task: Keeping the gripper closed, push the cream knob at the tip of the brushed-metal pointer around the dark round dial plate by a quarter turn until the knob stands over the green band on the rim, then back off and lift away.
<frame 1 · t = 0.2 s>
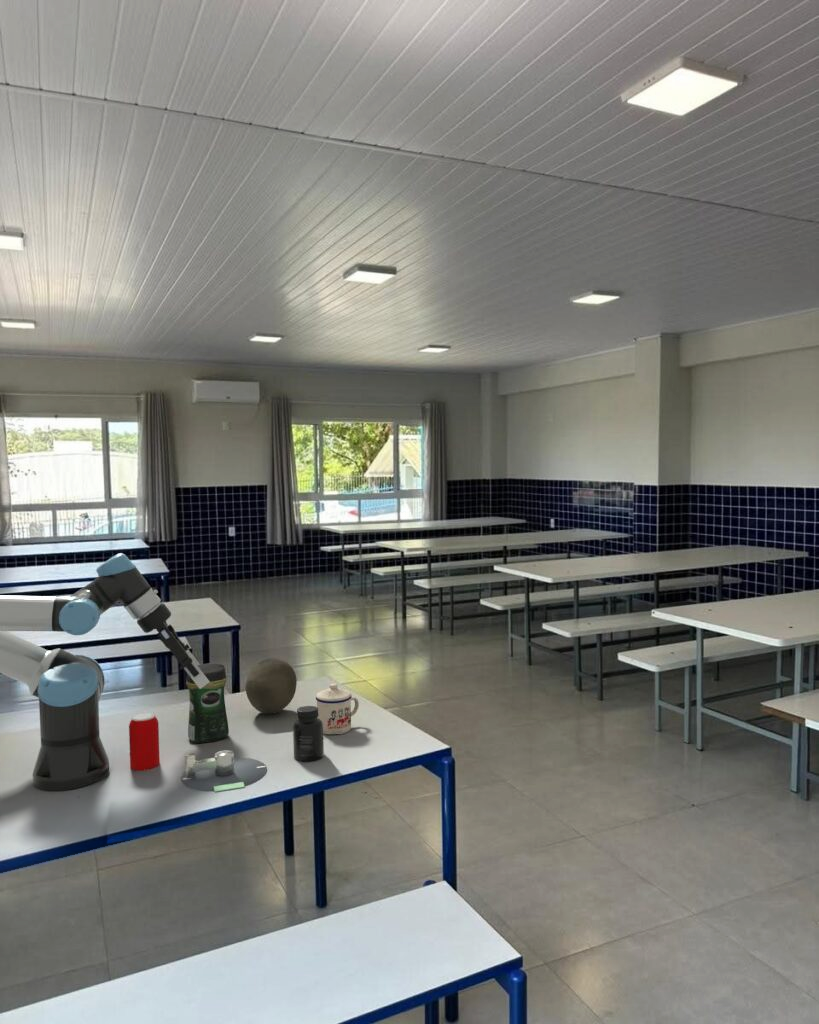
hand: (201, 678, 181), 15 cm above the table, tool tilted 35°, fingers open, 13 cm apart
beverage can: (145, 770, 164), on the table
dial plate: (224, 777, 159), on the table
teacup with lid: (339, 728, 189), on the table
supplement bottle: (308, 761, 168), on the table
pointer: (210, 763, 158), point 4 cm above the table, hinge at 0.0°
coffee jar: (208, 738, 183), on the table
cantaloupe: (271, 714, 201), on the table
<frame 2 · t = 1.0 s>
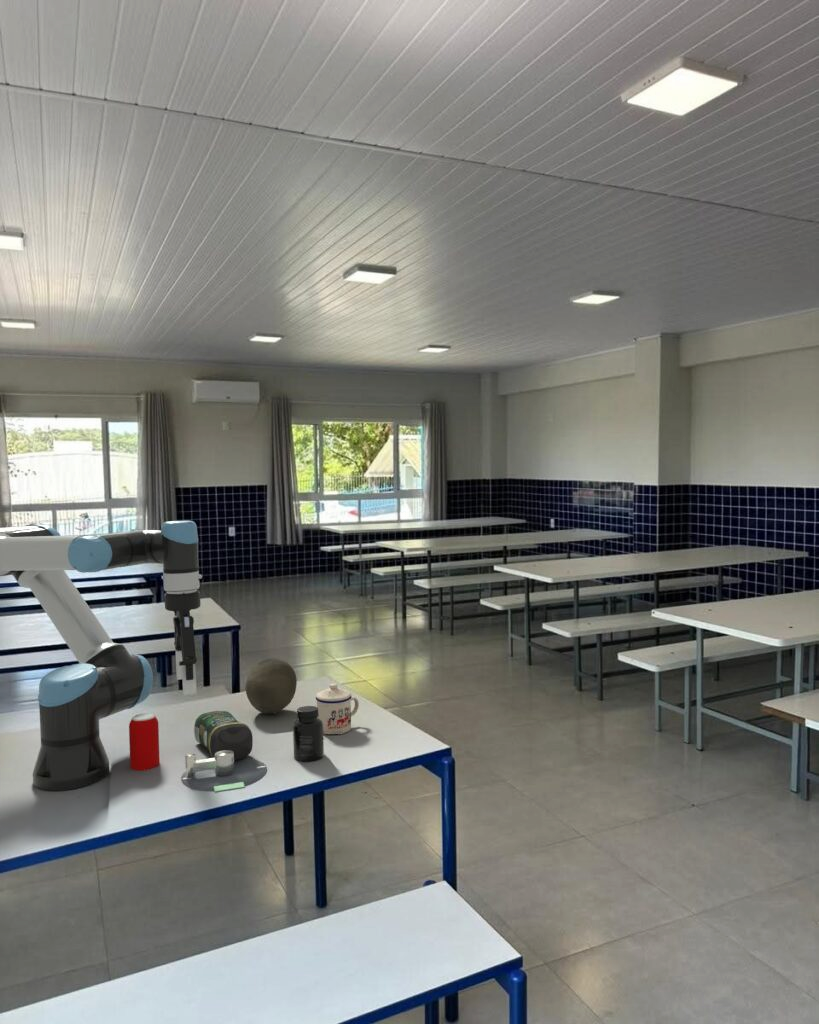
hand: (186, 686, 163), 19 cm above the table, tool pointing down, fingers open, 13 cm apart
coffee jar: (212, 725, 180), point 4 cm above the table, touching dial plate
everything else where it was.
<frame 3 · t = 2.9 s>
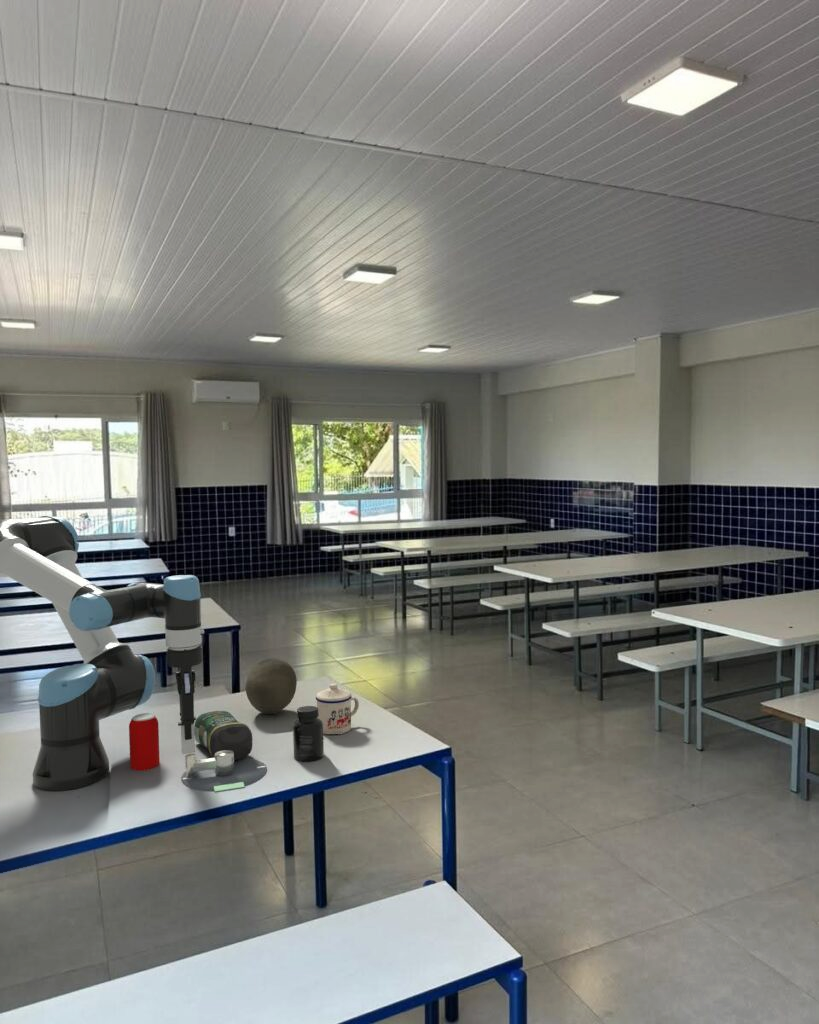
hand: (188, 752, 162), 4 cm above the table, tool pointing down, fingers closed
nothing on the table moved.
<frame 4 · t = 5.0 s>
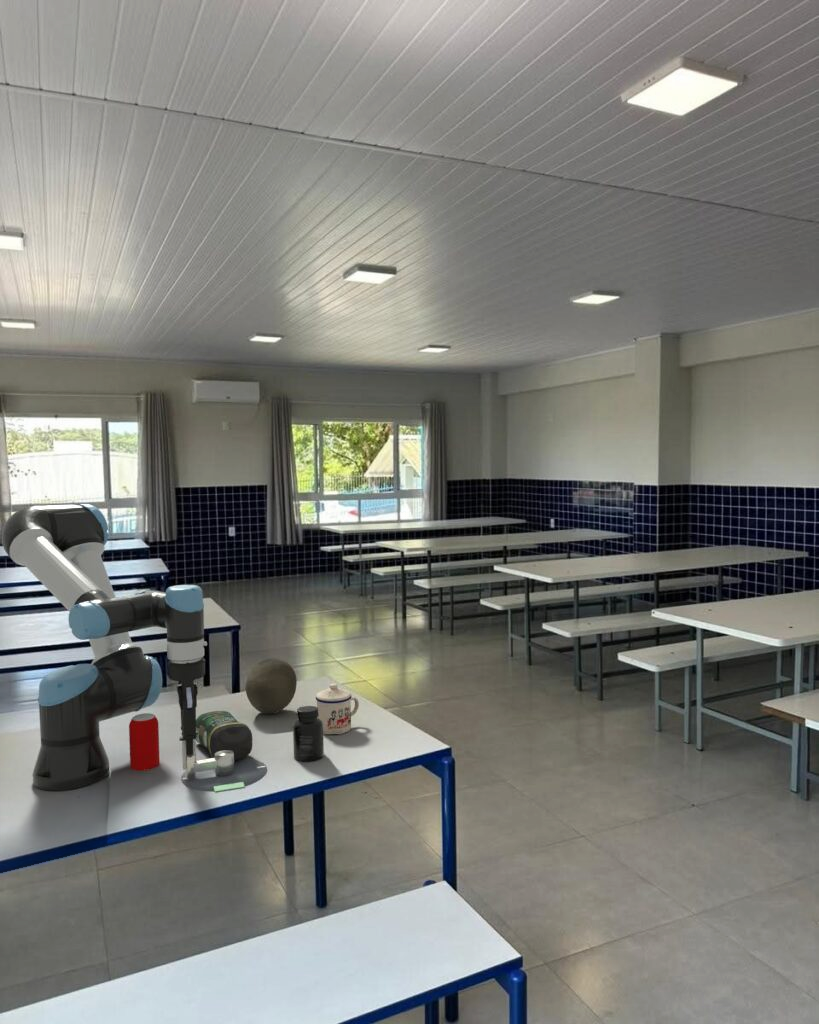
hand: (189, 767, 157), 3 cm above the table, tool pointing down, fingers closed
pointer: (210, 763, 157), point 4 cm above the table, hinge at 3.1°, touching gripper
everything else where it was.
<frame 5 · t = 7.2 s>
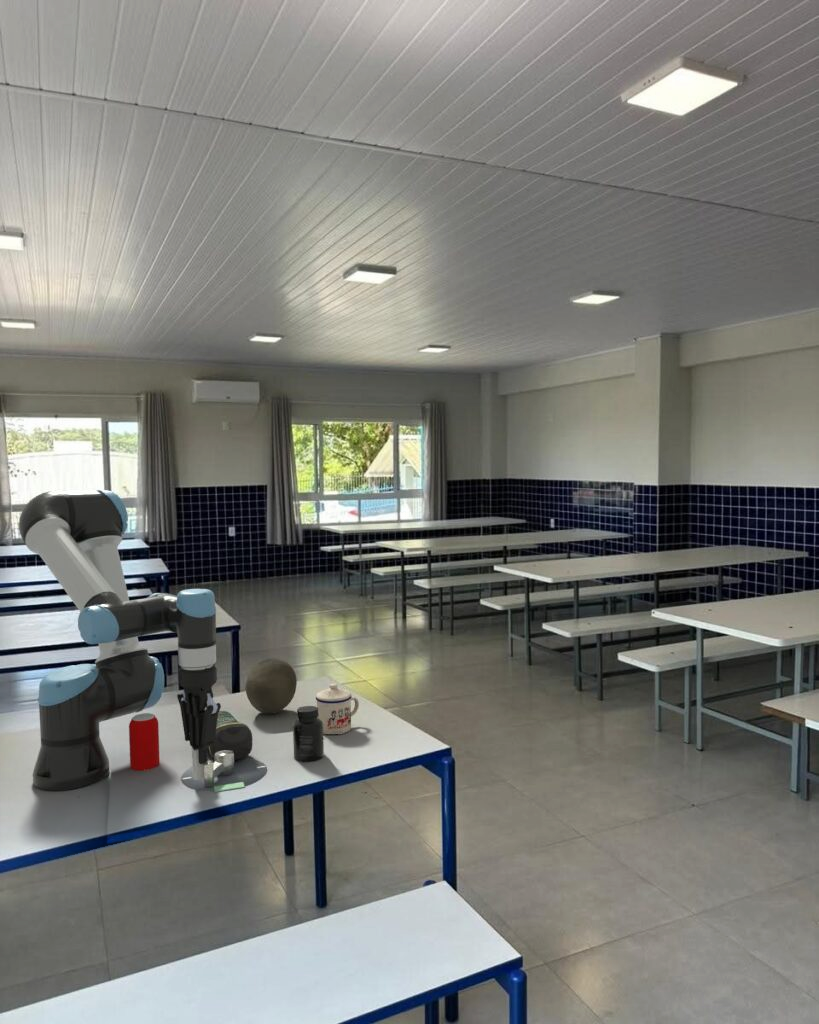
hand: (200, 777, 153), 3 cm above the table, tool pointing down, fingers closed
pointer: (217, 766, 156), point 4 cm above the table, hinge at 56.8°, touching gripper
everything else where it was.
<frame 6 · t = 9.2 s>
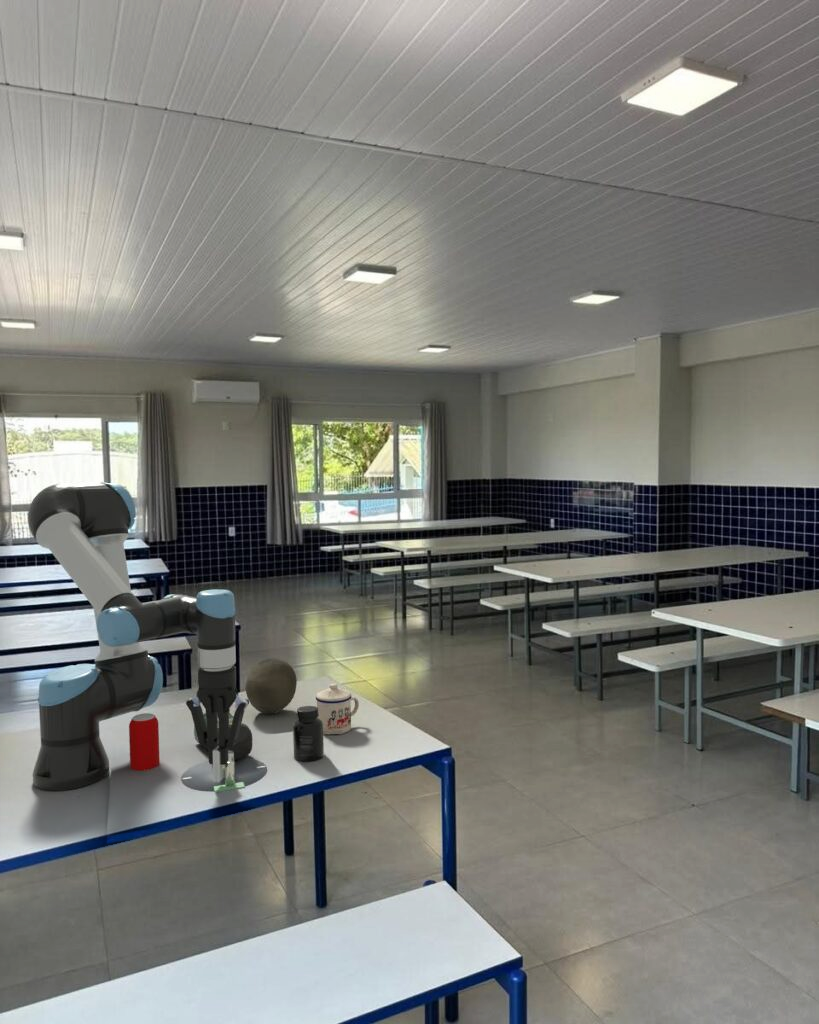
hand: (218, 779, 152), 3 cm above the table, tool pointing down, fingers closed
pointer: (226, 766, 156), point 4 cm above the table, hinge at 92.1°, touching gripper
everything else where it was.
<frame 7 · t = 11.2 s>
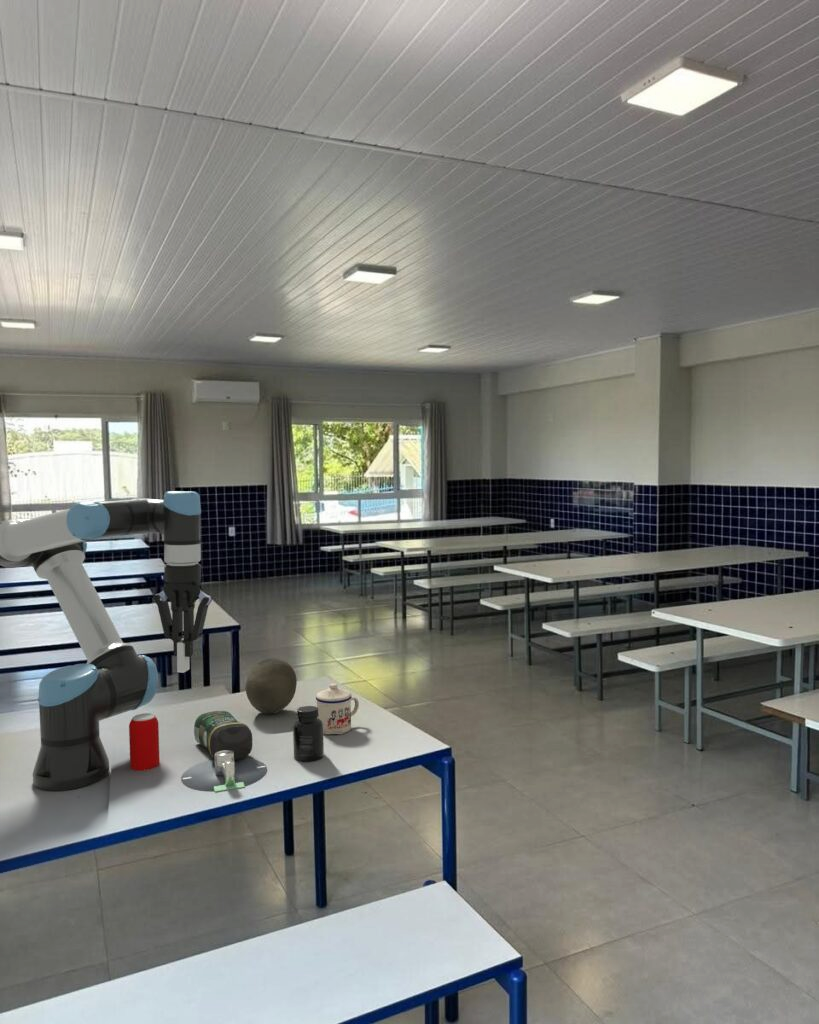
hand: (183, 670, 160), 23 cm above the table, tool pointing down, fingers closed
pointer: (226, 766, 156), point 4 cm above the table, hinge at 92.2°
everything else where it was.
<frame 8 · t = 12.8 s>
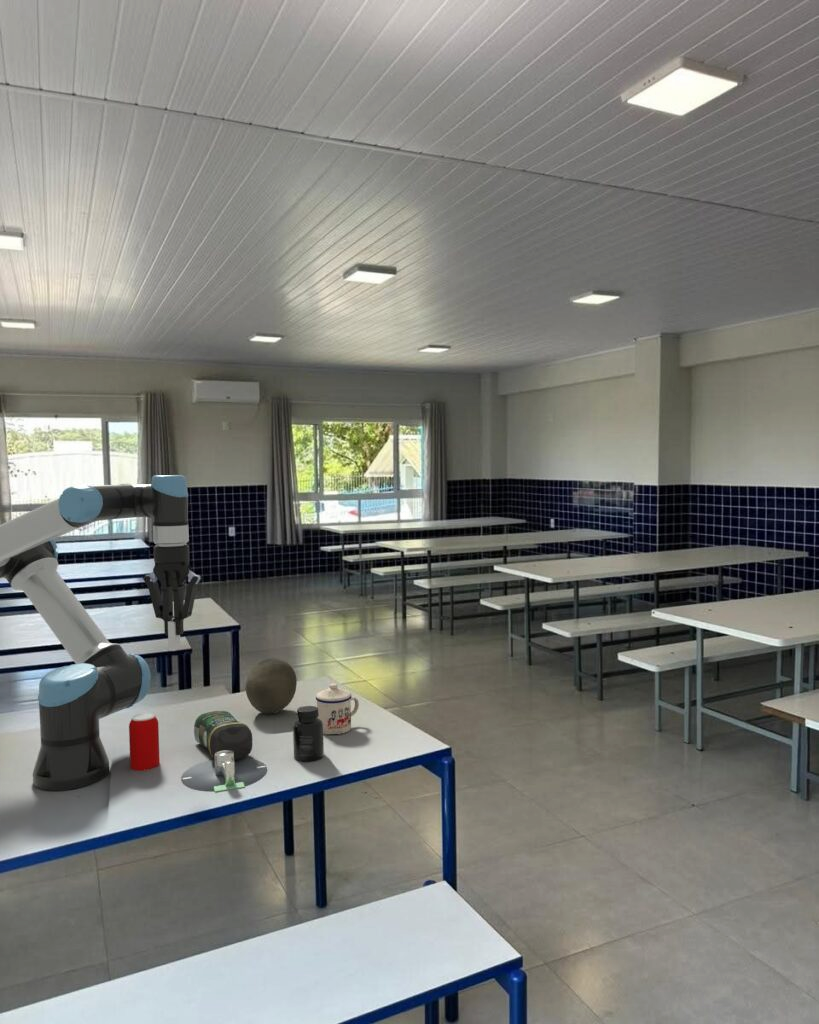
hand: (174, 649, 165), 26 cm above the table, tool pointing down, fingers closed
nothing on the table moved.
at the end: pointer at +92° (first picture: +0°); pointer touching nothing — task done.
